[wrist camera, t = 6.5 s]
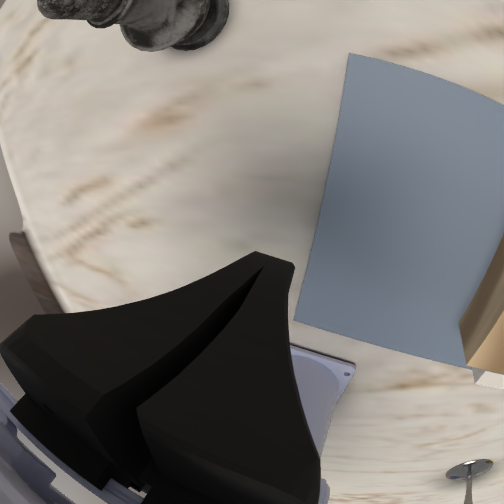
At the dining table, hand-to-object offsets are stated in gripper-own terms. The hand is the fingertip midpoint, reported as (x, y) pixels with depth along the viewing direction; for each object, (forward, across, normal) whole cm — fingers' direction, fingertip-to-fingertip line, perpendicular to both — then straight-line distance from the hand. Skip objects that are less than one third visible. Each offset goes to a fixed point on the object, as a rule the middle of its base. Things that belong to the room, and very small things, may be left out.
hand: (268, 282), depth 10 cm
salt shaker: (+10, +10, -10) cm, 17 cm away
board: (+10, -12, 0) cm, 16 cm away
